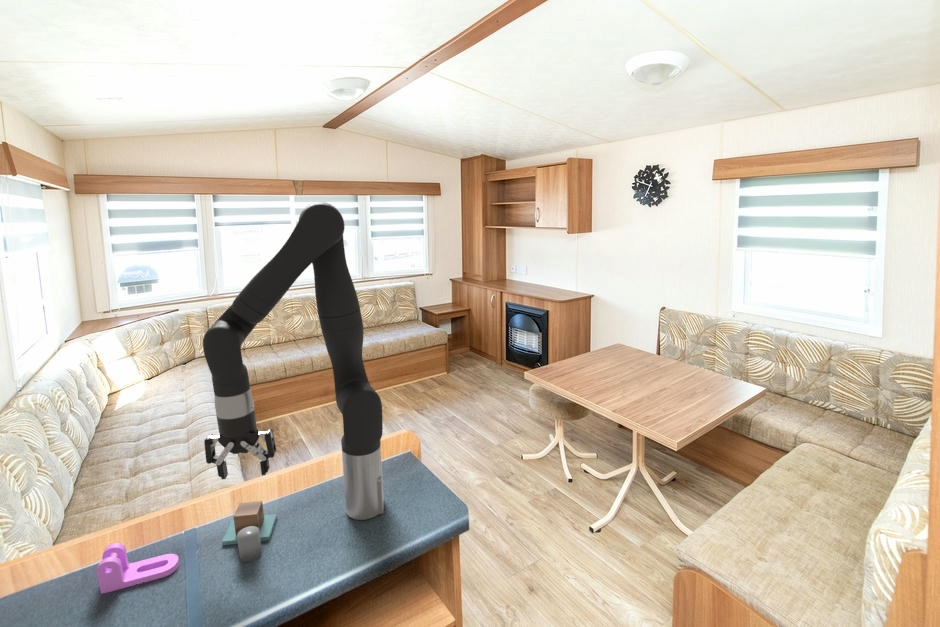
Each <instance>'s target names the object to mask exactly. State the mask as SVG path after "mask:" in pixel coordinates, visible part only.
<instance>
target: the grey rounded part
mask: <svg viewBox="0 0 940 627" xmlns="http://www.w3.org/2000/svg"><path fill="white" fill-rule="evenodd" d="M237 541H238V544H237V547H238V554H239V560H240V561H241V562H244V563H250V562H253V561H255V560H257V559H258V558H259V557H260V556H261V555H262V553H263V550H262V541H260V533H259V528H258V527H256V526H249V527H246V528H243V529H242V530H240V531H239V532H238V534H237Z"/></svg>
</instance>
